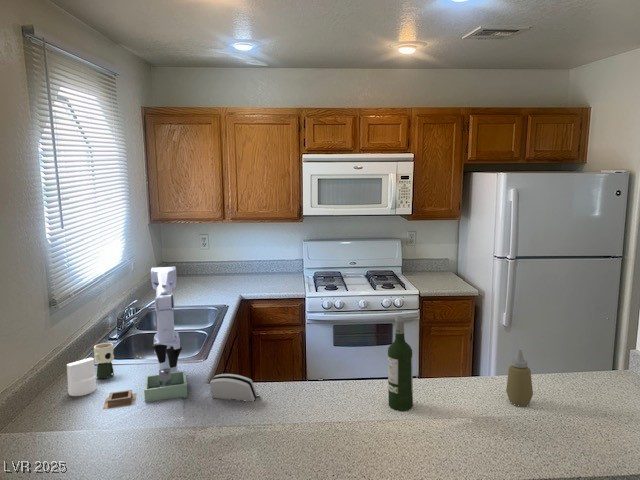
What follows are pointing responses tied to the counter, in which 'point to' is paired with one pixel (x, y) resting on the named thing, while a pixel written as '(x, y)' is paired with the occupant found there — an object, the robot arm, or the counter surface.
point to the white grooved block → (81, 377)
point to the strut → (165, 377)
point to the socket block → (120, 399)
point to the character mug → (104, 359)
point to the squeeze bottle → (519, 381)
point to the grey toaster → (233, 387)
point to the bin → (167, 390)
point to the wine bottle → (400, 370)
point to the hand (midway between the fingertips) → (167, 364)
